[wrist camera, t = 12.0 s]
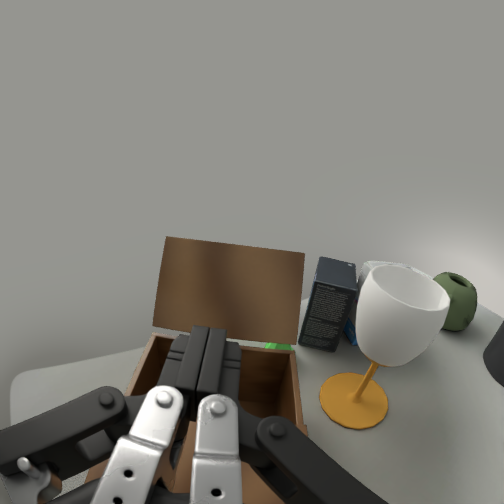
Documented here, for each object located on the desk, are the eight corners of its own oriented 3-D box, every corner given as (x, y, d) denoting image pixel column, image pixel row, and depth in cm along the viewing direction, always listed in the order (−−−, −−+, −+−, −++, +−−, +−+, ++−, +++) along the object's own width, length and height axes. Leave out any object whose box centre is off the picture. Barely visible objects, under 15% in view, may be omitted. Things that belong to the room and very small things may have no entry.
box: (304, 314, 44) (319, 254, 40) (338, 322, 42) (357, 264, 38) (296, 344, 37) (314, 278, 33) (334, 353, 36) (359, 289, 31)
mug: (427, 294, 54) (441, 260, 51) (471, 319, 45) (487, 284, 42) (403, 318, 45) (420, 277, 41) (457, 351, 36) (480, 310, 32)
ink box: (351, 347, 37) (379, 276, 32) (340, 326, 42) (362, 259, 37) (396, 342, 38) (425, 278, 33) (383, 324, 43) (407, 262, 38)
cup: (317, 370, 32) (356, 256, 26) (380, 375, 32) (430, 269, 25) (319, 428, 24) (381, 308, 18) (393, 428, 23) (469, 317, 17)
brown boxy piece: (120, 522, 11) (78, 497, 8) (161, 387, 27) (152, 324, 23) (281, 546, 12) (317, 535, 8) (277, 402, 27) (296, 343, 24)
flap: (166, 236, 25) (167, 237, 25) (152, 326, 23) (153, 325, 24) (305, 252, 25) (304, 253, 26) (296, 344, 23) (295, 344, 24)
